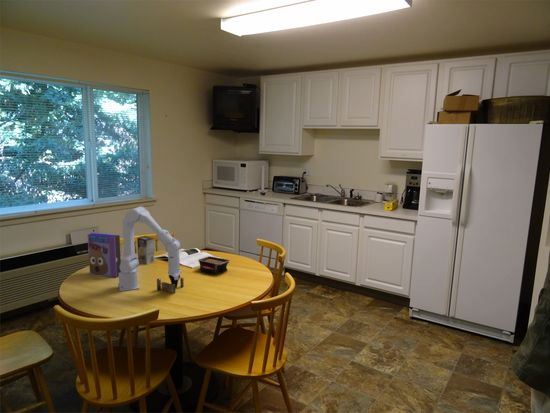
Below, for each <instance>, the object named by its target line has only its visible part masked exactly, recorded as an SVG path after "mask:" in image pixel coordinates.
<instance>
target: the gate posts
mask: <svg viewBox="0 0 550 413" xmlns="http://www.w3.org/2000/svg"><path fill="white" fill-rule="evenodd" d="M179 280H180V288H184V277H180V278H179ZM161 282H162V279H161V278H157V279H156V290H157V291H158V292H160V291H162V286H161Z"/></svg>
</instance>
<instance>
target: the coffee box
mask: <svg viewBox="0 0 550 413" xmlns="http://www.w3.org/2000/svg"><path fill="white" fill-rule="evenodd" d="M137 259H138V261H139V263H142V264H144V265H150V264H153V263H155V239H154V237H150V236H147V235H144V236H140V237H137Z"/></svg>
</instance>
